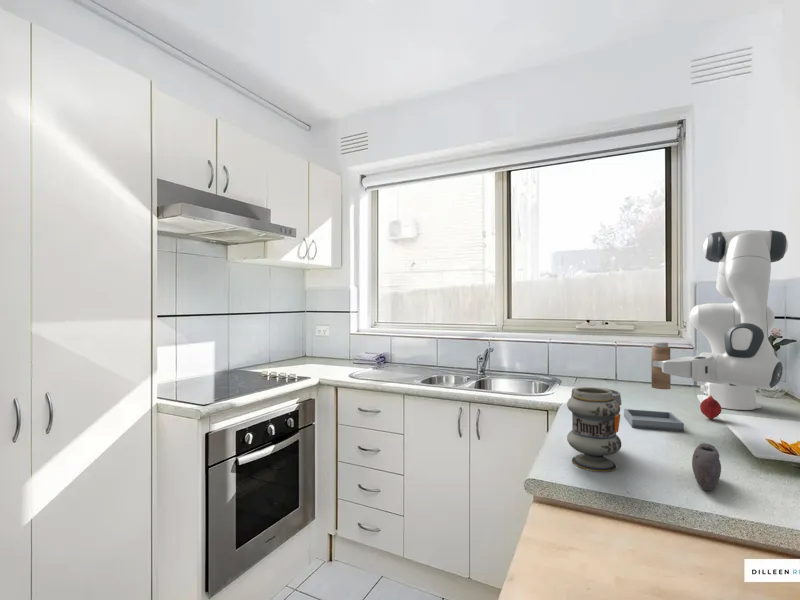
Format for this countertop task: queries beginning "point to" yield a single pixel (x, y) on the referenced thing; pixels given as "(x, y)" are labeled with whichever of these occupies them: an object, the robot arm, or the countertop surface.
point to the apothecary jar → (593, 428)
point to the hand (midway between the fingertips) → (657, 362)
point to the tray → (653, 420)
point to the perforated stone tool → (706, 466)
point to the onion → (710, 407)
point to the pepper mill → (659, 378)
